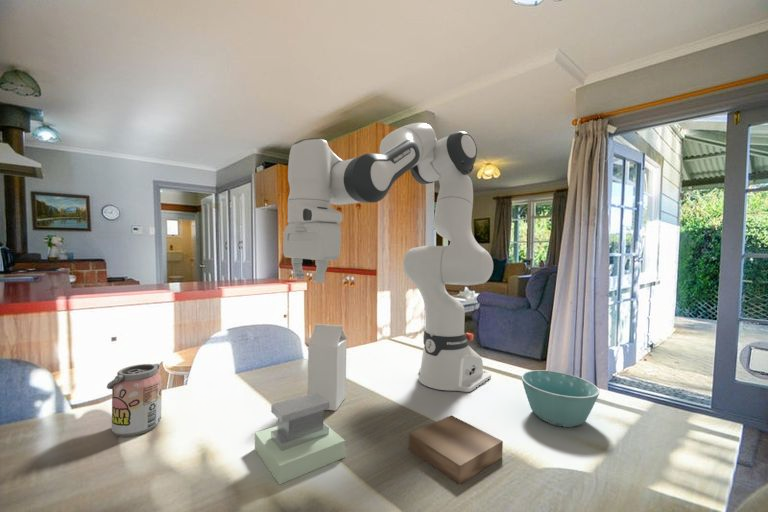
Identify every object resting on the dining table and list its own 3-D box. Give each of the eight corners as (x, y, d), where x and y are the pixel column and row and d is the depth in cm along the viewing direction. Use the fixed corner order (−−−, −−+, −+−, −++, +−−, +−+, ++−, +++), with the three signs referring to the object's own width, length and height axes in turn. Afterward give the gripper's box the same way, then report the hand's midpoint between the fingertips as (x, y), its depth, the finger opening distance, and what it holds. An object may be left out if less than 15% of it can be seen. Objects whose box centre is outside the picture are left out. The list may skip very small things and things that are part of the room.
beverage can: (97, 432, 67) (97, 372, 67) (140, 413, 75) (141, 359, 75) (129, 442, 64) (129, 379, 64) (170, 421, 72) (171, 365, 71)
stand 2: (451, 429, 71) (451, 415, 71) (502, 457, 62) (502, 441, 62) (408, 449, 64) (409, 433, 64) (459, 484, 54) (460, 465, 54)
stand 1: (313, 428, 70) (314, 414, 70) (344, 457, 61) (345, 440, 61) (254, 448, 63) (254, 432, 63) (279, 484, 53) (279, 465, 53)
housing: (270, 438, 61) (271, 404, 61) (316, 423, 66) (316, 392, 66) (281, 451, 57) (282, 415, 57) (328, 434, 63) (329, 401, 63)
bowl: (605, 418, 78) (606, 382, 78) (588, 445, 66) (589, 403, 66) (534, 397, 88) (535, 365, 88) (509, 417, 77) (510, 381, 77)
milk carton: (335, 411, 78) (337, 329, 78) (307, 408, 79) (308, 327, 79) (345, 398, 85) (347, 323, 85) (318, 395, 86) (320, 321, 86)
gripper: (276, 217, 78) (275, 277, 79) (318, 210, 62) (317, 285, 63) (301, 219, 82) (301, 276, 83) (347, 213, 66) (346, 284, 67)
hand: (308, 280), depth 72 cm, fingers open, 8 cm apart
